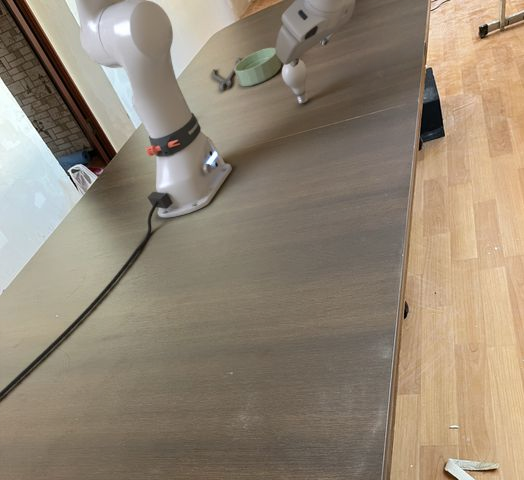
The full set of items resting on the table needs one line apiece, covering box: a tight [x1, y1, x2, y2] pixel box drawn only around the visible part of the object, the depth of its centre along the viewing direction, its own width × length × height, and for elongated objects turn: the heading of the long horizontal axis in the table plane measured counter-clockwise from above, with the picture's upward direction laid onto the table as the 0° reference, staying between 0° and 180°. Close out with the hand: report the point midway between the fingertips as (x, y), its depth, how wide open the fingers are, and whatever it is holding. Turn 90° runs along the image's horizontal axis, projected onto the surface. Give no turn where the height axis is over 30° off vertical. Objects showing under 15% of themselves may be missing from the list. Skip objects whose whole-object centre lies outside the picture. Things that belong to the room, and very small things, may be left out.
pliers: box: [211, 57, 242, 92], centre depth 168 cm, size 11×1×25 cm
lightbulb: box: [281, 58, 309, 105], centre depth 126 cm, size 6×6×11 cm
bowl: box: [233, 47, 282, 87], centre depth 154 cm, size 14×14×5 cm
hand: (308, 53), depth 115 cm, fingers open, 8 cm apart
